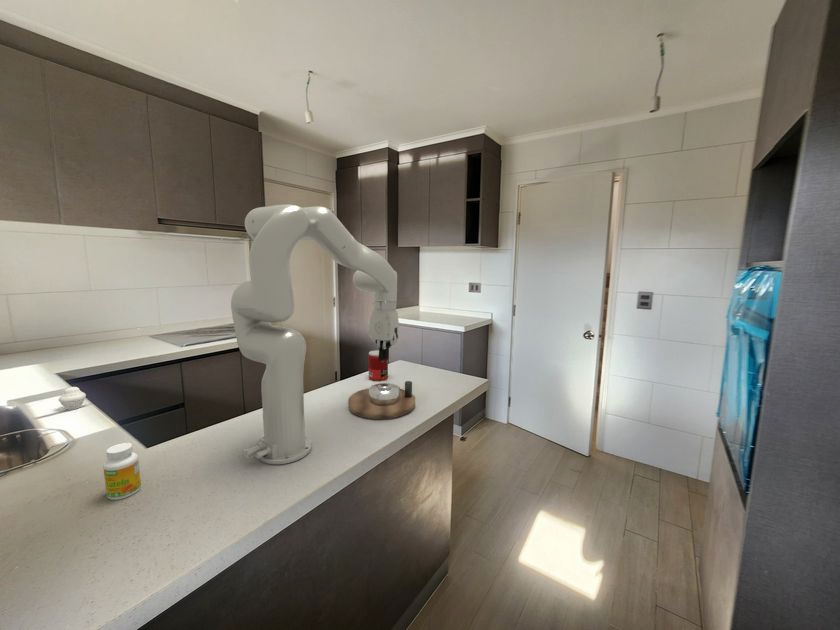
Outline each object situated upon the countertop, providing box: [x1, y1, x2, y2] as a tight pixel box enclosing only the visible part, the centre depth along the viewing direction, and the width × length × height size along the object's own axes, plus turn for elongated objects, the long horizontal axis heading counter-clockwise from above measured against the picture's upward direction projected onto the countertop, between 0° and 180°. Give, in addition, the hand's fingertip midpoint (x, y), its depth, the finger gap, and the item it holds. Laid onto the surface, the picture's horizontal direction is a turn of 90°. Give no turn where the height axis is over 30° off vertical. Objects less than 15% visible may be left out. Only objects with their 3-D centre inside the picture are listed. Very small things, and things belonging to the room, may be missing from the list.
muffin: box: [58, 386, 87, 411], centre depth 111 cm, size 6×6×7 cm
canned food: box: [368, 349, 389, 382], centre depth 144 cm, size 8×8×11 cm
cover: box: [369, 382, 401, 406], centre depth 115 cm, size 10×10×5 cm
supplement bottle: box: [102, 442, 142, 501], centre depth 71 cm, size 5×5×10 cm
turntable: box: [347, 380, 416, 420], centre depth 117 cm, size 22×22×7 cm
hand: (383, 359), depth 121 cm, fingers closed
